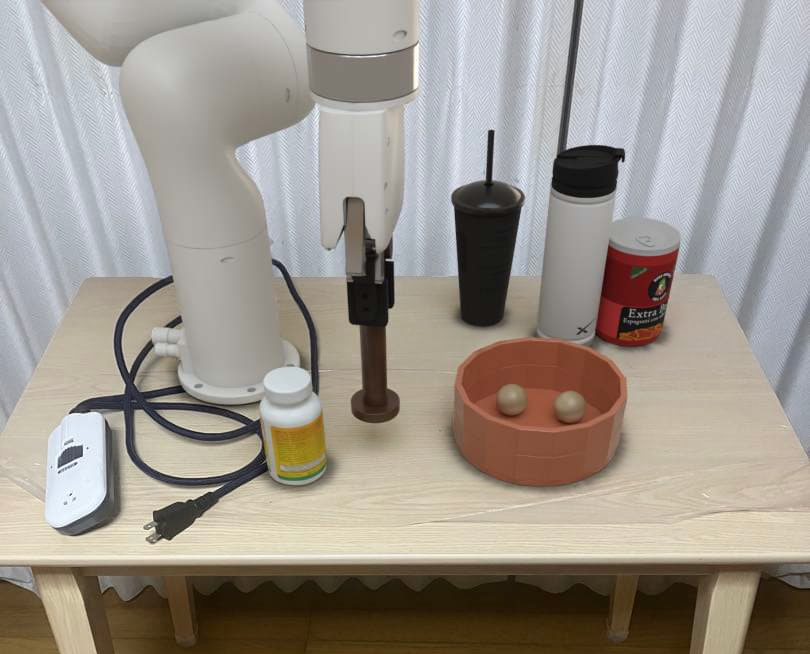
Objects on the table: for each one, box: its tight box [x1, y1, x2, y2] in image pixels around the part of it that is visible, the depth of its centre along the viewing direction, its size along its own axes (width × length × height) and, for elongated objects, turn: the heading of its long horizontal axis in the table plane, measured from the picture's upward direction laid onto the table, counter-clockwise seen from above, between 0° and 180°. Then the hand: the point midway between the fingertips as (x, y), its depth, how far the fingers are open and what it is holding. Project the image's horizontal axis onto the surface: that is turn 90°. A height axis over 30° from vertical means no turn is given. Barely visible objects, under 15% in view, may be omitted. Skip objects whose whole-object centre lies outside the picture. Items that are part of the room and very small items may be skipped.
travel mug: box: [535, 144, 626, 348], centre depth 87 cm, size 6×7×20 cm
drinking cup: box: [450, 129, 526, 327], centre depth 91 cm, size 8×8×20 cm
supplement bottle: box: [258, 367, 328, 486], centre depth 75 cm, size 5×5×10 cm
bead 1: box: [496, 384, 528, 416], centre depth 82 cm, size 3×3×3 cm
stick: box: [350, 251, 401, 424], centre depth 73 cm, size 4×4×15 cm
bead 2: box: [554, 391, 586, 423], centre depth 81 cm, size 3×3×3 cm
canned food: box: [595, 217, 682, 347], centre depth 92 cm, size 8×8×11 cm
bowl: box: [453, 336, 628, 487], centre depth 79 cm, size 15×15×6 cm
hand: (372, 313), depth 71 cm, fingers closed on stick, 2 cm apart
